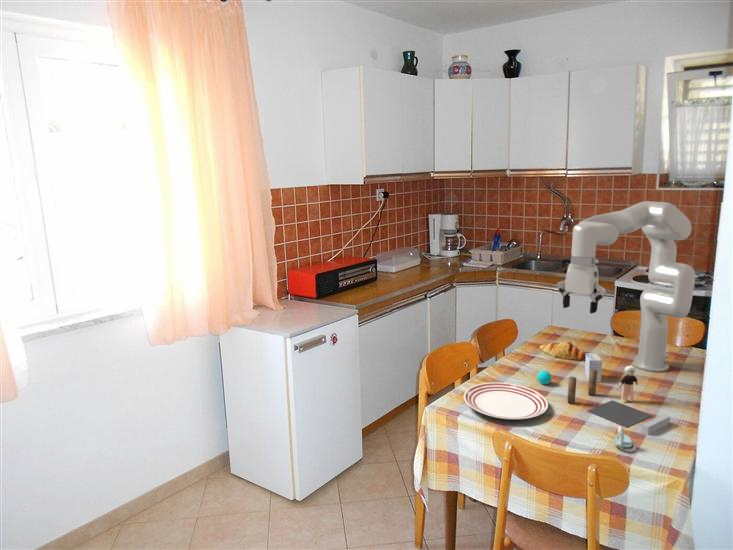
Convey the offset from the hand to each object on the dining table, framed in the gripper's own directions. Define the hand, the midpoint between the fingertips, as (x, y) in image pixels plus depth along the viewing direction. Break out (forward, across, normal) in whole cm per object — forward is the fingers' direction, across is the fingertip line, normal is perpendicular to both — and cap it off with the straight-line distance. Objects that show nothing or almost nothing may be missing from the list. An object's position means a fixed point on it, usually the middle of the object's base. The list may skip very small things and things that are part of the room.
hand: (579, 310), depth 188 cm
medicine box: (+30, +2, -17) cm, 35 cm away
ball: (+28, +11, +1) cm, 30 cm away
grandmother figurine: (+30, -16, -7) cm, 35 cm away
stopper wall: (+30, -30, +7) cm, 43 cm away
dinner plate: (+31, +10, +27) cm, 42 cm away
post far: (+30, -4, +8) cm, 32 cm away
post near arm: (+30, -5, -3) cm, 31 cm away
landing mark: (+30, -18, +5) cm, 36 cm away
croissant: (+31, +22, -32) cm, 49 cm away
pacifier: (+31, -29, +24) cm, 49 cm away
